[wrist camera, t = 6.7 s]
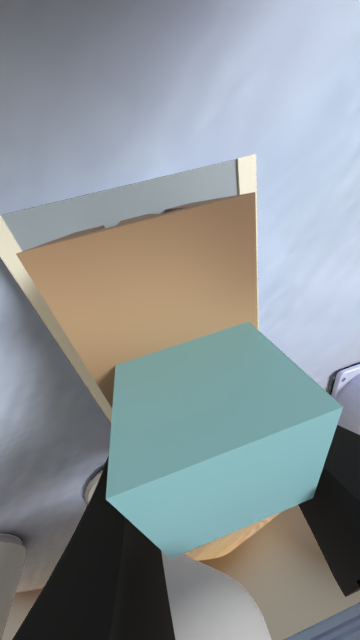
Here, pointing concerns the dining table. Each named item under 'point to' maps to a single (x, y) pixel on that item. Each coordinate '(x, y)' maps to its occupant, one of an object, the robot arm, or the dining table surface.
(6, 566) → the can
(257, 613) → the chalice
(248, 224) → the tan block
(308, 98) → the dining table surface
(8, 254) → the dock
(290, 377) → the teal cube block
